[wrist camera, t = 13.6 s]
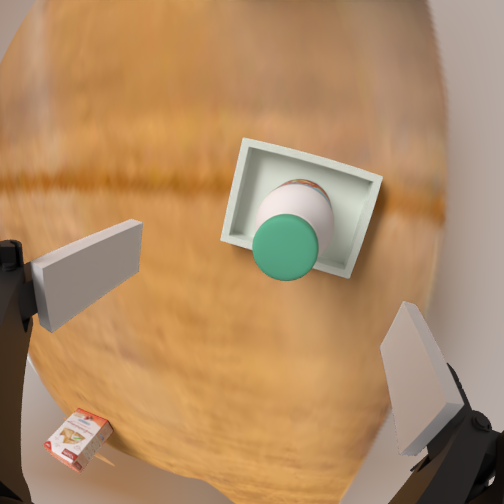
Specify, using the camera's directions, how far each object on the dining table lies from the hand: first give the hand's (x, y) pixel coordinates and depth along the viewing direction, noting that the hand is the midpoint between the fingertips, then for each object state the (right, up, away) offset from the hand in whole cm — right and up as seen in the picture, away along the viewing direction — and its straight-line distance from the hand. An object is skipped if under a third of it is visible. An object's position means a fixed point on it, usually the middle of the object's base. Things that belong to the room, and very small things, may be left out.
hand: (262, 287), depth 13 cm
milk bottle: (+6, +8, +25) cm, 27 cm away
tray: (+6, +8, +25) cm, 27 cm away
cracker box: (-50, -52, +58) cm, 92 cm away
